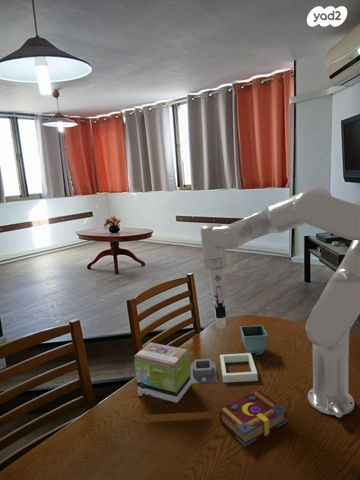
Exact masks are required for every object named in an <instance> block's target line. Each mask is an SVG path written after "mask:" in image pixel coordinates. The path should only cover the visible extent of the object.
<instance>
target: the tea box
mask: <svg viewBox="0 0 360 480" xmlns="http://www.w3.org/2000/svg"><path fill="white" fill-rule="evenodd" d="M189 359H190V358H189V350H188V349H187V348H183V347H182V348H181V347H177V346H171V345H167V344H166V345H165V344H161V343H156V342H151V341H150V342H148V343H147V344H146V345H145V346H143V348H142V349H140V350H139V351H138V352H137V353H136V354H135V355H134V356H133V361H134V362H133V363H134V368H135V377H136V387H137V392H138V393H137V394H138V396H141V397H142V396H143V394H144V395H147V396H151V397H154V398H158V399H161V400H165V401H170V402H173V403H178V402H179V401H180V400H182V397H183V396H184V395H185V394H186V392H187V391H188V390H189V388H190V387H192V385H191V384H192V383H191V382H190V380H191V368H190V360H189Z"/></svg>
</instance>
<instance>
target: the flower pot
mask: <svg viewBox="0 0 360 480" xmlns="http://www.w3.org/2000/svg"><path fill="white" fill-rule="evenodd" d="M239 329H240V334H241V340H242V343H243V346H244V350H245V351H246V352H245V353H251V354H255V355H256V356H261V355H263V353H264V352H265V351H266V348H267V341H268V334H267V332H266V330H265V327H264V326H263V325H258V324H257V325H245V326H240V327H239Z"/></svg>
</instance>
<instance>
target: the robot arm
mask: <svg viewBox="0 0 360 480" xmlns="http://www.w3.org/2000/svg"><path fill="white" fill-rule="evenodd" d="M305 224H306V225H308V226H312V227H313V228H316V229H318V230H322V231H324V232H327V233H330V234H332V235H335V236H338V237H341V238H343V239H346V240H350V241H351V243H350V246H348V247H349V248H348V249H347V251H346V253H345V255H344V257H343V259H342V261H341V263H340V264H339V266H338V268H337V269H336V271H334V273H333V275H332V276H331V277H330V278H329V280H328V282H327V284H326V286H325V287H324V289H323V291H322V293H321V294H320V297H319V299H318V300H317V302H316V304H315V305H314V307H313V308H312V310H311V313H310V314H309V316H308V319H307V320H306V323H305V333H306V335H307V337H308V340H310V342H311V343H312V388H311V389H310V390H309V391H308V393H307V401H308V403H309V404H310V405H311V407H312V408H314V409H315V410H317V411H318V412H320V413H323V414H325V415H326V414H327V415H330V416H331V415H332V416H336V417H337V418H342V417H343V416H344V415H347V414H350V413H351V412H352V411H354V407H355V400H354V397H353V396H352V395H351V394H350V393H349V360H350V359H349V356H350V354H349V353H350V351H349V350H350V347H349V345H350V330H351V328H352V326H353V325H354V323H355V321H356V320H357V319H358V317H359V315H360V200H357V201H354V202H349V201H346V200H344V199H340V198H337V197H335V196H333V195H332V193H331V192H330V191H329V190H328V189H326V188H324V187H320V186H315V187H310V188H308V189H307V190H304V191H301V192H298V193H297V194H294V195H292V196H290V197H287V198H285V199H282V200H280V201H278V202H275V203H273V204H271V205H269V206H267V207H266V208H265V209H263V210H261V211H259V212H256V213H253V214H251V215H250V216H247V217H244V218H242V219H239V220H237V221H233V222H232V223H230V224H227V225H223V224H221V223H209V224H205V225H204V224H203V226H201V228H200V237H201V239H200V240H201V247H202V255H203V268H204V269H205V270H208V271H207V273H208V278H209V286H210V292H211V295H212V298H213V300H214V301H215V303H216V306H215V309H214V312H215V311H216V318H225V317H227V313H226V305H225V298H226V299H227V298H228V297H229V294H228V293H229V291H228V283H227V275H226V269H225V268H227V267H228V258H227V250H236V249H238V248H240V247H242V246H243V245H245V244H247V243H248V242H250V241H254V240H256V239H258V238H262V237H263V236H266V235H270V234H273V233H274V234H275V233H276V234H281V233H285V232H287V231H290V230H292V229H295V228H298V227H301V226H303V225H305ZM217 300H218V301H217ZM214 301H213V302H214Z"/></svg>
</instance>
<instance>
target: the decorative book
mask: <svg viewBox="0 0 360 480" xmlns="http://www.w3.org/2000/svg"><path fill="white" fill-rule="evenodd" d="M218 411H219V412H218V413H219V422H220V424H222V425H223V427H224V428H226V429H227V430H228V431H229V432H230V433H231V434H232V435H233V436H234V437H235V439H236V440H237V441H238V442H240V444H241V445H242V446H243V447H244V448H246V447H247V446H249V445H251V444H253V443H254V442H256V441H257V440H259V438H261V437H262V436H264V437H266V436H269V434H270V432H271V431H273V430H275V429H278V428H280V427H281V426H283V425H285V424H287V423H288V420H287V419H286V418H285V413H286V412H288V411H287V408H285V407H284V406H283V405H281V404H279V403H278V402H275V400H272V399H271V398H270V397H269V396H267V395H265V394H264V393H263V392H262V391H260V390H257V391H255V392H252V393H250V392H249V393H247V394H245V395H244V397H243V398H241V399H239V400H237V401H231V402H229V403H227V404H226V406H225V407H223V408H221V409H219V410H218Z"/></svg>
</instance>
